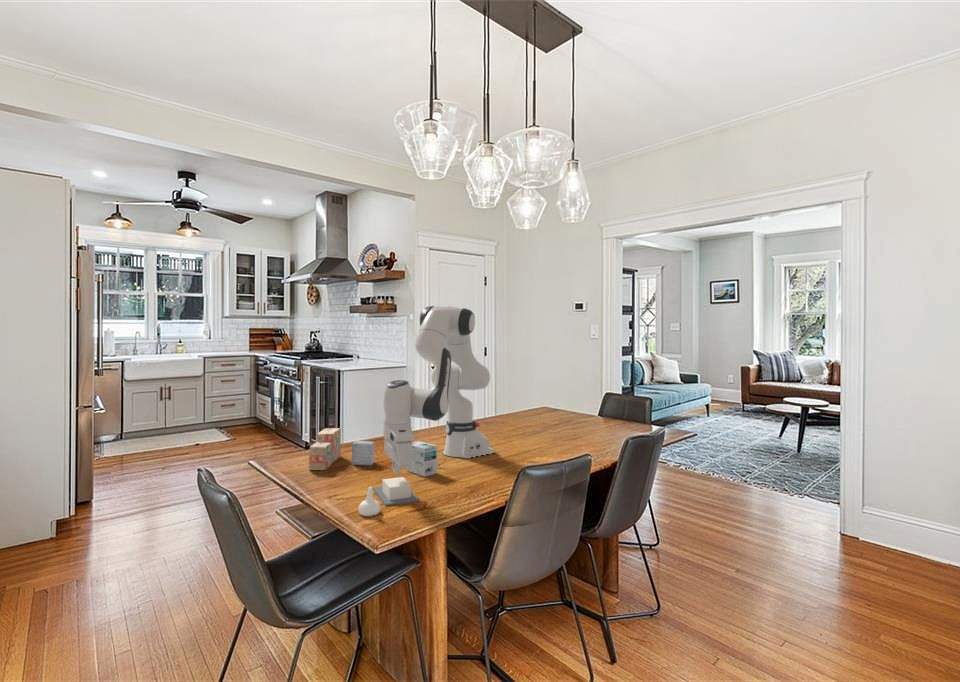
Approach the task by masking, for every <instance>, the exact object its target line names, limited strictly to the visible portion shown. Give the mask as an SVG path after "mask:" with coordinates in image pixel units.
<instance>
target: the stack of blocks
mask: <svg viewBox="0 0 960 682" xmlns="http://www.w3.org/2000/svg"><path fill="white" fill-rule="evenodd" d="M341 437H342V436H341V427H339V428H338V427H326V428H323V429H322V430H321V431H319V432H318V433H317V435H316V442H315V443H313V444H311V446H309V460H308V463H309V464H308V465H309V466H308V467H309V468H308V470H321V471H320V472H323V471H322V470H325V471H326V470H327V469H329V468H330V467H331V466H332V465H333V464H334V463H335V462H336V461H337V460H338V459H339V458H340V457H341V442H342V441H341ZM335 460H336V461H335ZM334 461H335V462H334ZM333 462H334V463H333ZM332 463H333V464H332ZM331 464H332V465H331ZM330 465H331V466H330ZM329 466H330V467H329ZM328 467H329V468H328Z"/></svg>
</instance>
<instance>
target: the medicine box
mask: <svg viewBox="0 0 960 682" xmlns="http://www.w3.org/2000/svg"><path fill="white" fill-rule="evenodd" d="M374 463H375V442H374V441H366V440H364V441H363V440H359V441H358V440H356V441H354V442H353V443H351V465H352V466H353V465H354V466H355V465H356V466H372V465H373V464H374Z"/></svg>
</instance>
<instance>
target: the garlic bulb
mask: <svg viewBox="0 0 960 682" xmlns="http://www.w3.org/2000/svg"><path fill="white" fill-rule="evenodd" d="M373 492H374V491H373V487H372V486H368V488H367V493H366V494H367V495H366V499H365V500H363V501H361V503H360V504H359V505H358V513H359V514H360V515H361V516H364V517H373V515H374V516H376V515H378V514H379V513H380V511H381V505H380V503H379V501H377V500H376V499H374V494H373Z"/></svg>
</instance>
